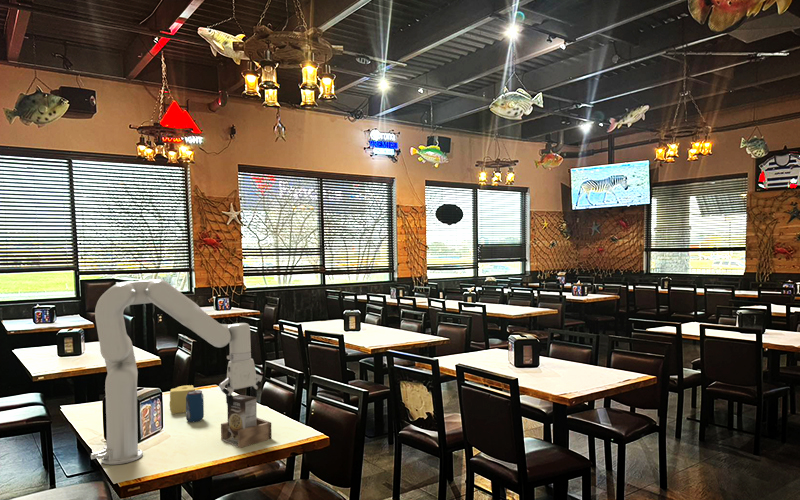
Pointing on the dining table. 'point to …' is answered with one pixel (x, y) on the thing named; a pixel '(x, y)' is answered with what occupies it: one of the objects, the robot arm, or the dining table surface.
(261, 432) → the walnut caddy
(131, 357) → the robot arm
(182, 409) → the cheese
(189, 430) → the dining table surface
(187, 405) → the soda can
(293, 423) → the dining table surface
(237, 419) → the coffee box
